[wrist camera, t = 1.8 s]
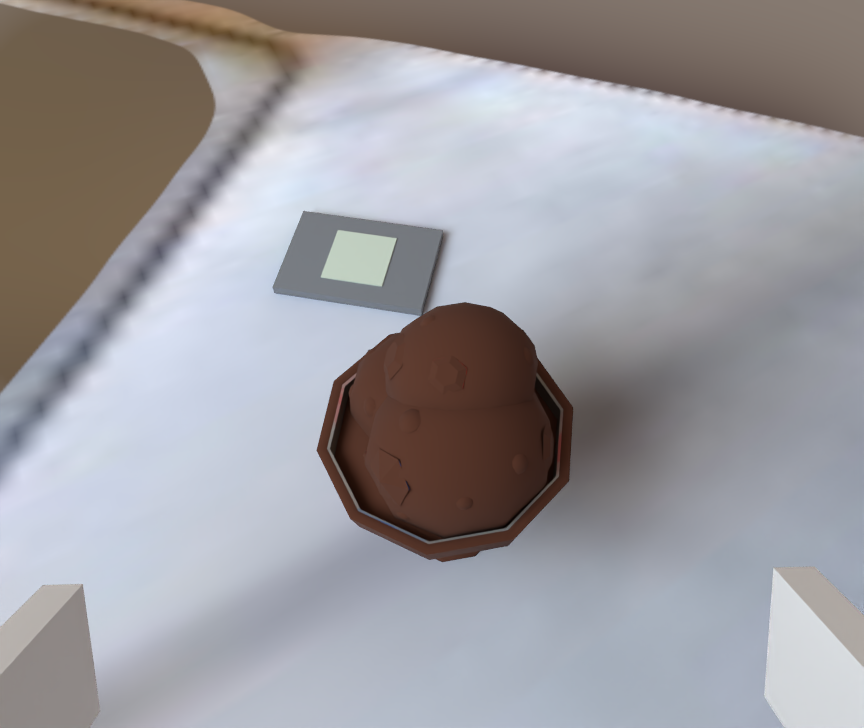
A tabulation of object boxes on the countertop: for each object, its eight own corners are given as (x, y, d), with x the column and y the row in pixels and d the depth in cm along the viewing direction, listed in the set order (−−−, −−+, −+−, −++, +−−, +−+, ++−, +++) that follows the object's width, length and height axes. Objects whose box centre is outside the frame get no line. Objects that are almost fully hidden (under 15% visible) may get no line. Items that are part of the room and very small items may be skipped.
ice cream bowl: (334, 440, 43) (282, 270, 31) (528, 408, 44) (555, 229, 31) (356, 631, 38) (303, 520, 25) (578, 590, 39) (635, 463, 26)
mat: (442, 236, 51) (442, 229, 51) (421, 315, 48) (421, 309, 47) (304, 217, 53) (303, 210, 52) (274, 292, 49) (272, 286, 49)
